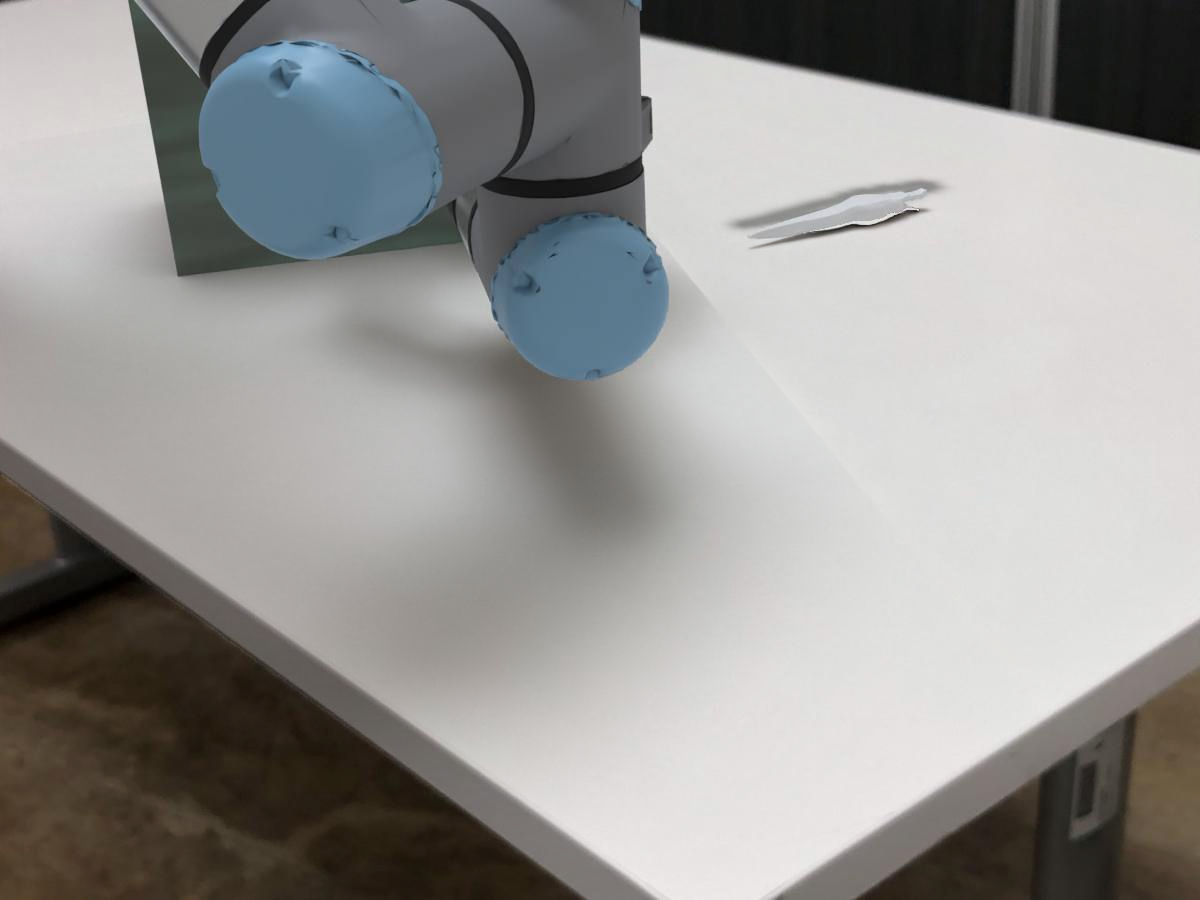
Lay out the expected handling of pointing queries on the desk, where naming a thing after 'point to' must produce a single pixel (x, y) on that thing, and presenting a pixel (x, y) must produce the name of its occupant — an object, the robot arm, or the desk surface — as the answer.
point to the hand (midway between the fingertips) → (465, 103)
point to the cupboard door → (190, 187)
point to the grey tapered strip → (843, 213)
